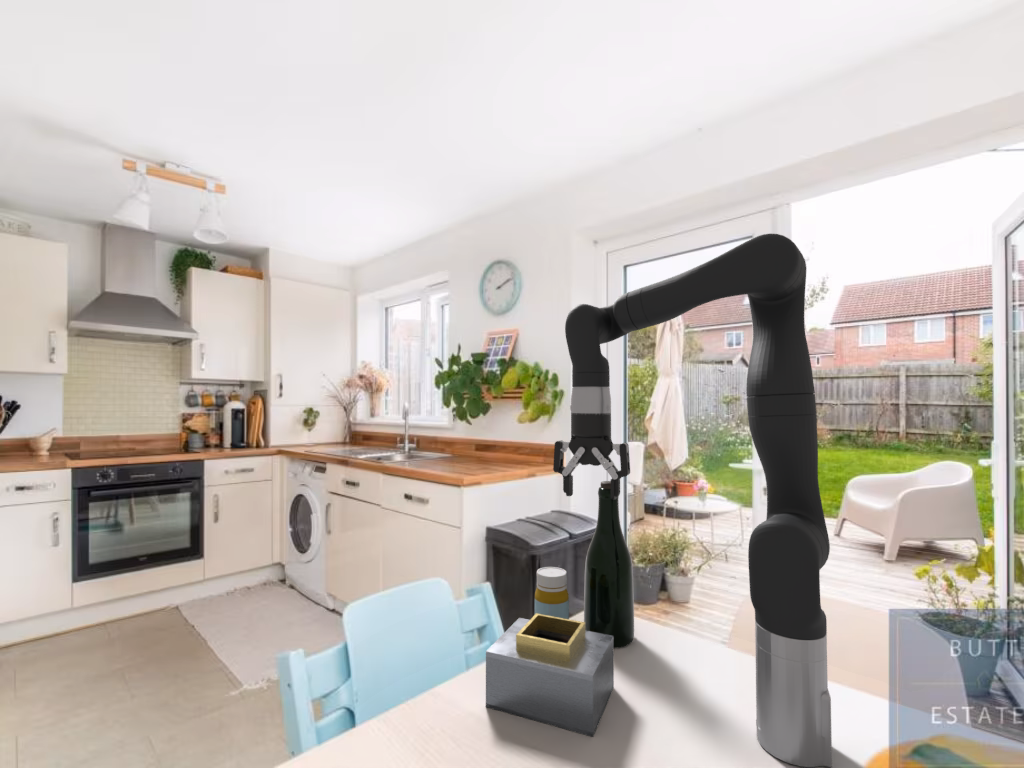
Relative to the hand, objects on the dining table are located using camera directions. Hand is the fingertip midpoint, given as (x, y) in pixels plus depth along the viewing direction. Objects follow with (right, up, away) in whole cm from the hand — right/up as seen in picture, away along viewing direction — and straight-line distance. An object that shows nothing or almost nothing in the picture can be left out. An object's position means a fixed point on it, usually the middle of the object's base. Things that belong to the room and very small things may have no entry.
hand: (591, 497), depth 95 cm
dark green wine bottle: (+6, -33, +12) cm, 35 cm away
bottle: (-7, -33, +9) cm, 34 cm away
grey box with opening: (-8, -32, -9) cm, 34 cm away
